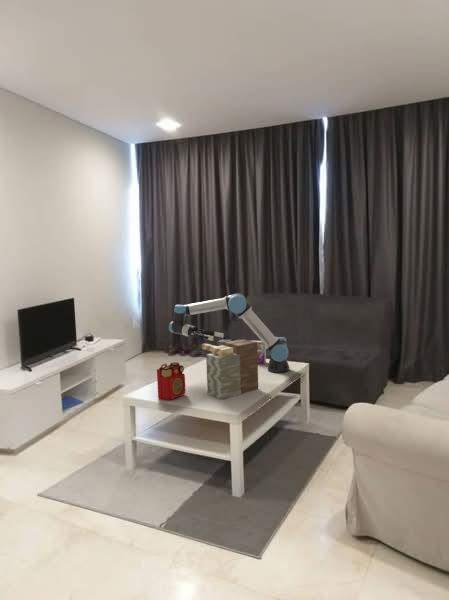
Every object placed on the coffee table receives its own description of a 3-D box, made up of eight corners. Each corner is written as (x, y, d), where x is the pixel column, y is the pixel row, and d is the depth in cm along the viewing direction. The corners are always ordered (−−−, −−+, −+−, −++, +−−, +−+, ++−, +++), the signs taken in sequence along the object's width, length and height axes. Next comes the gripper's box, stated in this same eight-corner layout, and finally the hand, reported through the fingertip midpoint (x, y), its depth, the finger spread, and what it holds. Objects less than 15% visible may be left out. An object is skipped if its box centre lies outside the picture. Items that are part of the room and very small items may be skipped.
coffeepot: (218, 362, 346) (217, 338, 344) (215, 359, 355) (214, 336, 353) (237, 360, 351) (237, 336, 349) (234, 357, 360) (233, 334, 358)
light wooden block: (198, 350, 280) (198, 343, 280) (209, 348, 285) (208, 341, 285) (222, 356, 261) (222, 350, 261) (233, 354, 266) (233, 347, 266)
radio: (170, 401, 260) (169, 367, 257) (157, 399, 265) (155, 365, 263) (187, 393, 273) (186, 361, 271) (174, 391, 278) (172, 359, 276)
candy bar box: (250, 363, 340) (249, 341, 338) (251, 361, 344) (251, 340, 343) (264, 364, 336) (264, 342, 334) (266, 362, 341) (265, 340, 339)
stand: (207, 393, 272) (205, 346, 268) (243, 384, 289) (242, 339, 285) (222, 399, 261) (220, 349, 257) (258, 389, 278) (257, 342, 274)
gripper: (199, 333, 313) (226, 339, 304) (179, 339, 291) (207, 346, 282) (200, 323, 312) (227, 328, 303) (180, 327, 290) (209, 334, 281)
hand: (218, 337), depth 292 cm, fingers open, 13 cm apart
